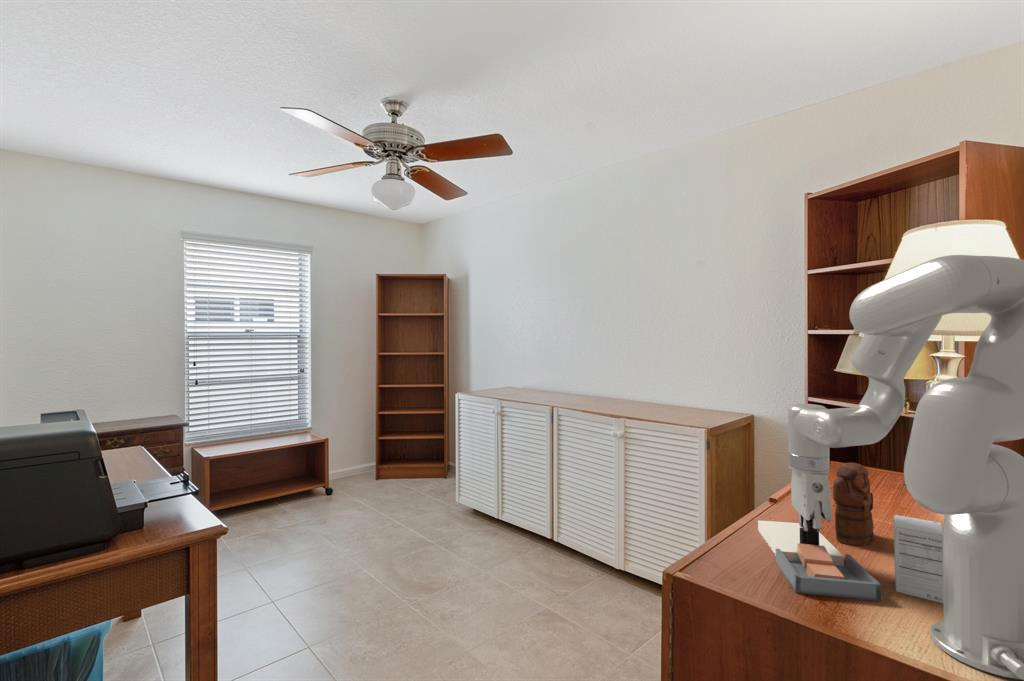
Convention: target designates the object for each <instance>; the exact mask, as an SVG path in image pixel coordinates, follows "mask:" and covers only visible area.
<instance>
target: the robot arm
mask: <svg viewBox="0 0 1024 681" xmlns="http://www.w3.org/2000/svg"><path fill="white" fill-rule="evenodd" d="M850 305H851V306H850V308H849V314H848V315H849V320H850V321H849V322H850V324H852V326H853V328H854V329H855V330H856V331H857V332H859V333H861V334H863V336H862V338H861V340H860V341H859V343H858V344H857V347H856V349H855V350H854V352H853V354H852V355H851V358H850V359H851V360H850V363H851V365H852V366H853V367H854V369H855V370H856V371H858V372H859V373H861V374H862V375H864V376H865V377H867V378H868V387H867V390H866V392H865V393H864V395H863V397H862V398H861V400H860V402H859V403H858V405H856V406H853V407H839V408H827V407H826V406H824V405H821V404H815V403H814V404H813V403H794V404H791V405H790V406H789V408H788V410H787V434H788V435H787V436H788V438H787V442H788V443H787V446H788V450H787V451H788V453H787V455H788V458H787V459H788V461H787V462H788V468H789V469H790V470H791V482H790V483H791V484H790V486H791V487H790V489H791V491H790V494H791V495H790V496H791V504H792V507H793V508H794V510H796V511H797V513H798V523H799V525H800V527H803V528H800V544H810V545H819V532H820V530H823V524H822V523H823V522H822V519H823V520H824V521H825V522H827V523H830V522H832V520H833V513H832V496H831V485H830V479H829V475H828V474H829V473H830V470H831V468H830V466H831V465H830V462H831V460H830V448H833V449H838V448H847V447H848V448H849V447H856V446H866V445H867V446H868V445H874V444H876V443H879V442H880V441H881V440H882V439H884V438H885V437H887V435H888V434H889V432H890V431H891V430H892V429H893V427H894V425H895V424H896V422H897V421H898V419H899V418H900V416H901V414H902V413H903V410H904V408H905V403H906V384H905V381H904V380H905V377H906V375H907V374H908V372H909V370H910V369H911V367H912V366H913V364H914V362H915V361H916V359H917V358H918V356H919V355H920V353H921V351H922V350H923V349H924V347H925V345H926V344H927V342H928V340H929V339H930V337H931V336H932V334H933V333H934V332H935V329H936V328H937V327H938V324H939V323H940V322H941V319H942V317H943V316H944V315H949V314H984V313H985V314H987V315H989V316H990V317H991V318H990V322H989V323H988V325H987V326H986V328H985V329H984V331H983V332H982V334H981V335H980V337H979V339H978V341H977V342H976V344H975V345H976V346H975V349H974V354H973V359H972V362H971V365H970V369H969V370H968V374H967V376H965V377H952V378H948V379H943V380H941V381H939V382H937V383H935V384H933V385H932V386H930V387H929V388H928V389H927V390H926V391H925V392H924V394H922V396H921V397H920V399H919V402H918V403H917V406H916V408H915V409H916V410H915V413H914V418H913V422H912V427H911V429H910V430H911V431H910V434H909V435H910V436H909V440H908V444H907V449H906V454H905V459H904V463H903V464H904V465H903V478H904V483H905V484H904V485H905V486H906V489H907V490H908V493H909V494H910V496H911V497H912V498H913V499H914V501H915V502H916V503H917V504H919V506H921V507H923V508H924V509H926V510H929V511H931V512H932V513H936V514H939V515H944V518H943V519H944V520H943V524H942V525H943V603H942V605H943V621H939V622H935V623H934V624H932V626H931V627H930V637H931V639H932V641H933V642H934V643H935V645H936V646H938V647H939V648H940V649H941V650H942V651H943V652H944V653H946V654H948V655H949V656H951V657H952V658H954V659H955V660H958V661H959V662H962V663H963V664H966V665H968V666H969V667H973V668H975V669H977V670H980V671H983V672H986V673H989V674H991V675H996V676H998V677H999V676H1000V677H1004V678H1007V679H1015V680H1022V681H1024V456H1022V455H1021V454H1020V453H1018V452H1016V451H1014V450H1013V449H1010V448H1008V447H1005V446H1002V445H999V444H995V443H1001V442H1010V441H1017V440H1021V439H1022V440H1023V439H1024V259H1021V258H1016V257H1009V256H1008V257H1007V256H995V255H970V254H967V255H966V254H953V255H944V256H943V255H942V256H939V257H936V258H932V259H930V260H927V261H924V262H922V263H919V264H918V265H915V266H913V267H911V268H908V269H906V270H904V271H902V272H899V273H897V274H895V275H893V276H890V277H888V278H885V279H883V280H881V281H879V282H877V283H874V284H872V285H870V286H868V287H867V288H865V289H863V290H862V291H861V292H860V293H858V294H857V296H856V297H855V298H854V300H853V301H852V303H851V304H850Z"/></svg>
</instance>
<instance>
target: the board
mask: <svg viewBox="0 0 1024 681" xmlns="http://www.w3.org/2000/svg"><path fill="white" fill-rule="evenodd" d="M800 528H803V527H800V525H799V522H790V521H789V522H787V521H786V522H785V521H772V520H757V530H758V533H760V535H761V537H762V538H763V539H764V540H766V541H765V543H766V544H767V543H768V544H767V546H768V547H769V548H770V547H771V548H770V550H771V551H772V552H773V554H774V553H775V554H774V555H775V556H776V549H780V550H781V551H782V553H783V554H784V555H785V557H786V558H787V560H788V561H791V562H801V560H800V558H799V556H798V554H797V543H799V544H800ZM819 545H820V546H825V548H826V550H827V552H828V553H829V555H830V557H831V559H832V561H833V565H838V566H845V565H844V562H845V560H844V559H845V555H843V554H842V553H841V552H840V551H839V550H838V549H837V548H836V547H835V546H834V545H833V544H832V543H831V542H830V541H829V540H827V538H826V537H825V536H824V535H823V534H822V533H821V532H820V531H819Z"/></svg>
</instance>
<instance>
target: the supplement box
mask: <svg viewBox="0 0 1024 681" xmlns="http://www.w3.org/2000/svg"><path fill="white" fill-rule="evenodd" d="M943 525H944V524H943V523H942V522H939V521H932V520H928V519H922V518H916V517H911V516H910V517H909V516H904V515H899V514H895V515H894V520H893V546H894V548H893V550H894V551H893V552H894V556H893V557H894V579H895V581H894V582H895V583H894V584H895V592H897V593H901V594H904V595H909V596H912V597H917V598H921V599H924V600H928V601H932V602H936V603H939V604H943Z"/></svg>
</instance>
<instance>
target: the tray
mask: <svg viewBox="0 0 1024 681" xmlns="http://www.w3.org/2000/svg"><path fill="white" fill-rule="evenodd" d="M844 559H845V560H844V562H845V565H844V566H838V565H835V566H836V567H837V569H838V570H839V571H840V572H841V573H842V575H843V576H844V578H845V580H843V579H832V578H821V577H810V576H808V575H807V573H806V568H804V567H803V565H802V563H801V562H791V561H788V560H787V558H786V557H785V555H784V554H783V553H782V551H781V550H780V549H776V555H775V564H776V563H777V564H776V565H777V567H778V566H779V567H778V568H779V570H780V569H781V570H780V572H781V573H782V572H783V573H782V575H783V576H784V575H785V576H784V577H785V579H786V580H787V581H788V583H789V585H790V586H791V587H792V589H793V590H794V592H795V593H796V594H802V595H804V594H805V595H813V596H823V597H834V598H845V599H855V600H865V601H872V602H873V601H876V602H882V584H881V583H880V582H879V581H878V580H877V579H876V578H875V577H873V576H872V575H871V574H870V573H869V572H868V571H867V569H865V567H863V566H862V565H861V564H860V563H859V562H858V561H857V560H856V559H855V558H854V557H853V556H852V555H851V554H849V553H845V555H844Z"/></svg>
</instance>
